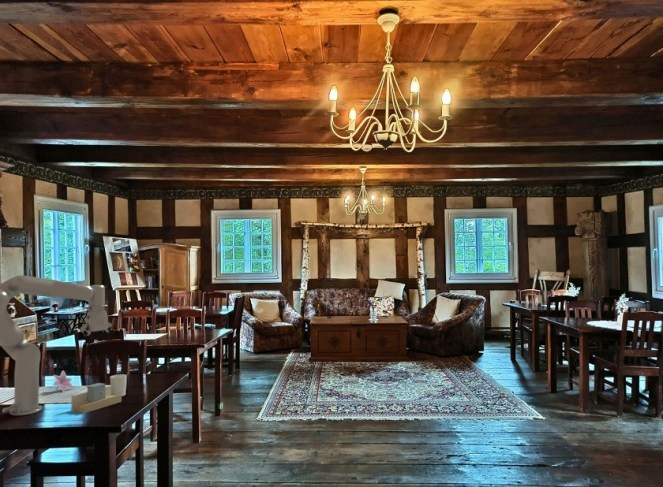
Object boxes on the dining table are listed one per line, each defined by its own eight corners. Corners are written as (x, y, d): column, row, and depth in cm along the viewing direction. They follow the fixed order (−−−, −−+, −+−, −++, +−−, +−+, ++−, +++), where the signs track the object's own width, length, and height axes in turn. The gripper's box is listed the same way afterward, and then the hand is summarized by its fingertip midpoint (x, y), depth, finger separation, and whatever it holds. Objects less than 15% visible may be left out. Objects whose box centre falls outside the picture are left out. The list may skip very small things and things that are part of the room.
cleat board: (83, 413, 214) (83, 397, 214) (71, 410, 218) (71, 395, 219) (121, 401, 232) (121, 387, 232) (109, 399, 236) (109, 385, 236)
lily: (48, 396, 247) (57, 380, 247) (43, 384, 255) (51, 369, 255) (71, 398, 256) (79, 383, 256) (65, 386, 264) (73, 371, 264)
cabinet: (94, 403, 221) (94, 387, 221) (86, 401, 224) (87, 385, 224) (106, 399, 226) (106, 384, 227) (98, 398, 229) (98, 382, 229)
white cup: (108, 398, 238) (108, 378, 239) (111, 394, 246) (111, 375, 246) (125, 396, 240) (125, 377, 241) (127, 392, 248) (127, 373, 249)
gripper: (85, 310, 233) (85, 345, 233) (116, 307, 249) (116, 339, 248) (76, 310, 237) (76, 344, 236) (106, 307, 252) (106, 339, 251)
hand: (96, 341), depth 242 cm, fingers open, 9 cm apart
